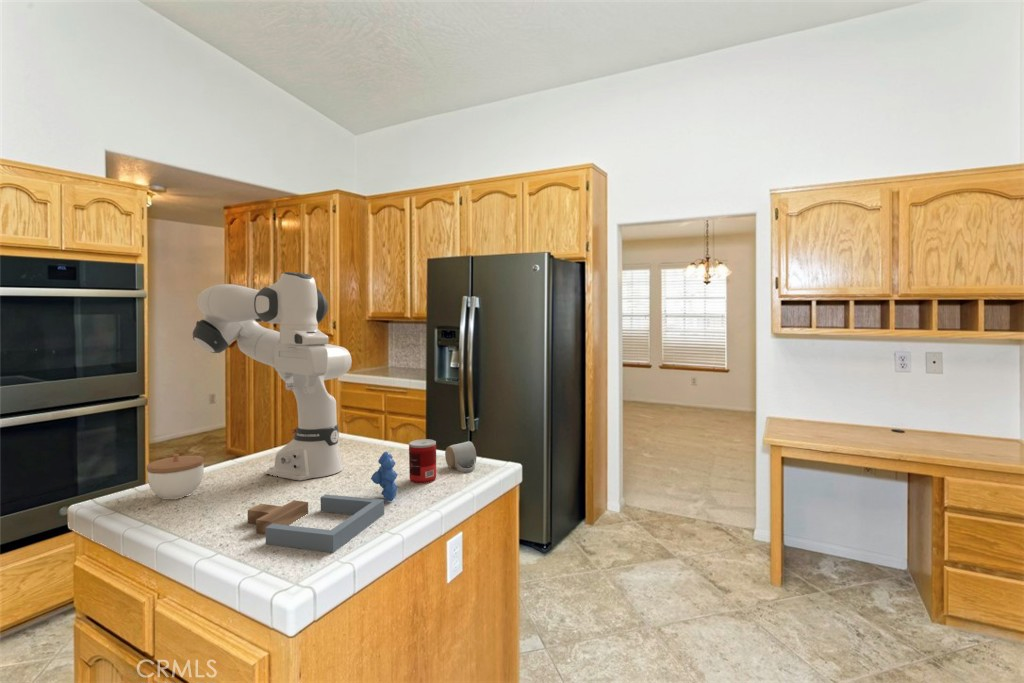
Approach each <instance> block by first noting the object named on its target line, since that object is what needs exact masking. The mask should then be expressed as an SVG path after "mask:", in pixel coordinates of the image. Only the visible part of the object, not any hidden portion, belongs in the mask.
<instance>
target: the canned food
mask: <svg viewBox="0 0 1024 683" xmlns="http://www.w3.org/2000/svg"><path fill="white" fill-rule="evenodd" d="M408 460H409V462H408V464H409V466H408V468H409V470H408V472H409V473H408V474H409V481H410V482H411V483H413V484H417V483H418V484H419V483H424V484H429V483H432V482H434V481H436V479H437V441H436V440H434V439H429V438H428V439H427V438H424V439H422V438H421V439H415V440H412V441H410V442H409V443H408ZM428 482H429V483H428ZM419 485H420V484H419Z"/></svg>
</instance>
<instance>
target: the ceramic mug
mask: <svg viewBox="0 0 1024 683" xmlns="http://www.w3.org/2000/svg"><path fill="white" fill-rule="evenodd" d="M444 454H445V455H444V457H445V462H446V464H447V466H448V467H449V468H450V469H457V470H458V471H460V472H462V473H471V472H473V471H474V470H475V468H476V462H477V451H476V447H475V446H474V443H473V442H472V441H470V440H468V441H464V442H461V443H457V444H451V445H449V446H447V447H446V449H445V453H444Z"/></svg>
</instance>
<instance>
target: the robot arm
mask: <svg viewBox="0 0 1024 683" xmlns="http://www.w3.org/2000/svg"><path fill="white" fill-rule="evenodd" d="M196 301H197V302H196V303H197V307H198V310H199V311H200V312H201V314H203V317H202V318H201V320H197V321H196V323H195V324H196V325H195V326H194V329H193V331H192V339H193V341H195V343H196V345H198V347H200V348H201V349H203V350H204V351H205V352H206V351H207V352H210V353H212V354H221V353H222V352H224V351H225V350H227V349H228V348H229V346H230V345H232V343H233V342H235V341H236V340H237V342H236V344H237V347H238V349H239V351H240V352H241V353H243V354H244V355H245V356H247V357H249V358H251V359H252V360H255V361H257V362H259V363H262V364H264V365H267V366H269V367H272V368H274V370H275V372H277V373H278V375H279V378H280V379H281V380H283V382H284V383H285V390H287V391H292V392H293V394H294V398H295V400H296V405H297V406H296V408H297V422H298V425H297V427H296V428H294V429H291V430H290V434H291V435H292V434H294V435H293V437H292V438H293V439H291V441H289V442H288V443H286V445H284V446H283V447H282V448H281V449H279V450H278V451H277V453H276V455H275V457H274V458H275V459H274V465H272V466H271V467H269V468H267V470H266V473H265V475H267V474H270V475H269V476H272V475H273V477H277V476H278V478H284V479H287V480H288V479H289V480H294V481H305V480H308V479H309V480H310V479H313V478H314V479H315V478H322V477H327V476H332V475H335V474H338V473H340V472H341V471H343V470H344V466H343V463H342V459H341V454H340V448H339V433H340V432H339V424H338V423H337V422H338V421H337V420H338V419H337V418H338V417H337V416H338V415H337V401H336V398H335V397H334V395H331V394H330V393H329V392H328V391H327V388H326V384H325V381H328V380H334V379H337V378H339V377H342V376H344V375H345V374H347V373H348V372H349V370H350V369H351V368H352V362H353V361H352V356H351V353H350V351H349V350H348V349H347V348H346V347H343V346H339V345H334V344H330V343H329V336H328V335H327V334H326V333H324V332H322V331H321V330H320V329H319V325H318V324H320V323H321V322H322V321H323V320H324V318H325V317H326V316H327V314H328V311H329V302H328V300H327V298H326V297H325V295H324V294H323V293H322V291H321V290H320V289H319V288H317V284H316V280H315V277H313V276H312V275H311V274H308V273H303V272H302V273H301V272H296V271H285V272H283V273H282V274H281V275H280V277H279V279H278V280H277V281H276V282H274V283H272V284H271V285H269V286H266V287H265V286H264V287H263V288H261V289H255V288H251V287H248V286H243V285H238V284H232V283H230V284H229V283H223V284H222V283H221V284H217V285H216V284H215V285H212V286H210V287H207V288H205V289H204V290H202V291H201V292H200V293H199V294H198V297H197V300H196ZM259 322H260V323H261V322H263V323H268V324H279V331H278V330H275V329H271V328H267V327H264V326H262V325H261V324H259Z"/></svg>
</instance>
